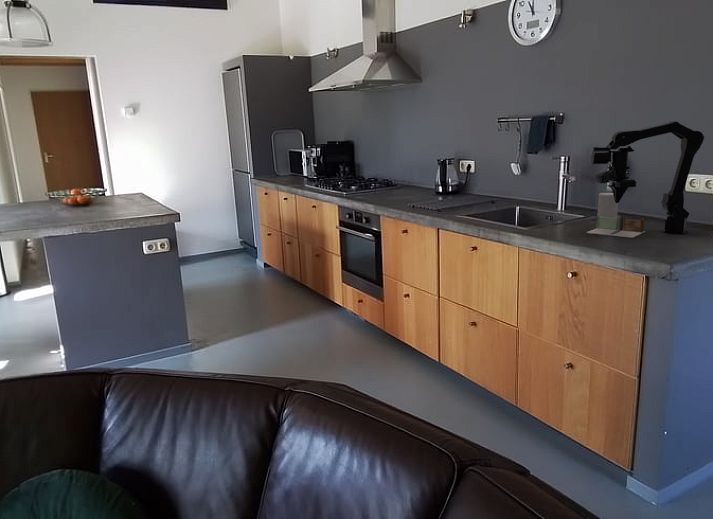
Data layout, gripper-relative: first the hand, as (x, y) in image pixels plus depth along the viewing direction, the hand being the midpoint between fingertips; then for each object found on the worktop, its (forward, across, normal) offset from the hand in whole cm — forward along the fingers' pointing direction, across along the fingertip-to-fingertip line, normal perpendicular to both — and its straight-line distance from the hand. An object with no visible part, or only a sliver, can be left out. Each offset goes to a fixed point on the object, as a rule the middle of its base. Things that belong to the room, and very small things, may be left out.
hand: (616, 202), depth 220 cm
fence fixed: (+12, 0, +6) cm, 14 cm away
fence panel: (+11, -6, -1) cm, 13 cm away
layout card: (+12, +1, 0) cm, 12 cm away
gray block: (+12, -28, +8) cm, 32 cm away
